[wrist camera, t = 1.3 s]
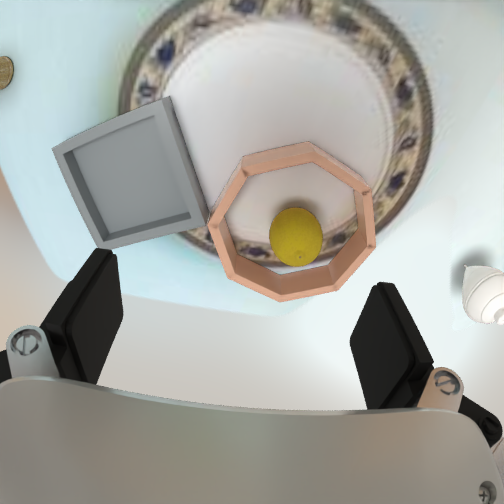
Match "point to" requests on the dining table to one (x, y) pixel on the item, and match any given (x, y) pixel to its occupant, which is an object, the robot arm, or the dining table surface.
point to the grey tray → (133, 177)
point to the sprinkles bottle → (5, 71)
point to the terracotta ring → (304, 280)
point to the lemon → (296, 237)
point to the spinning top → (483, 294)
